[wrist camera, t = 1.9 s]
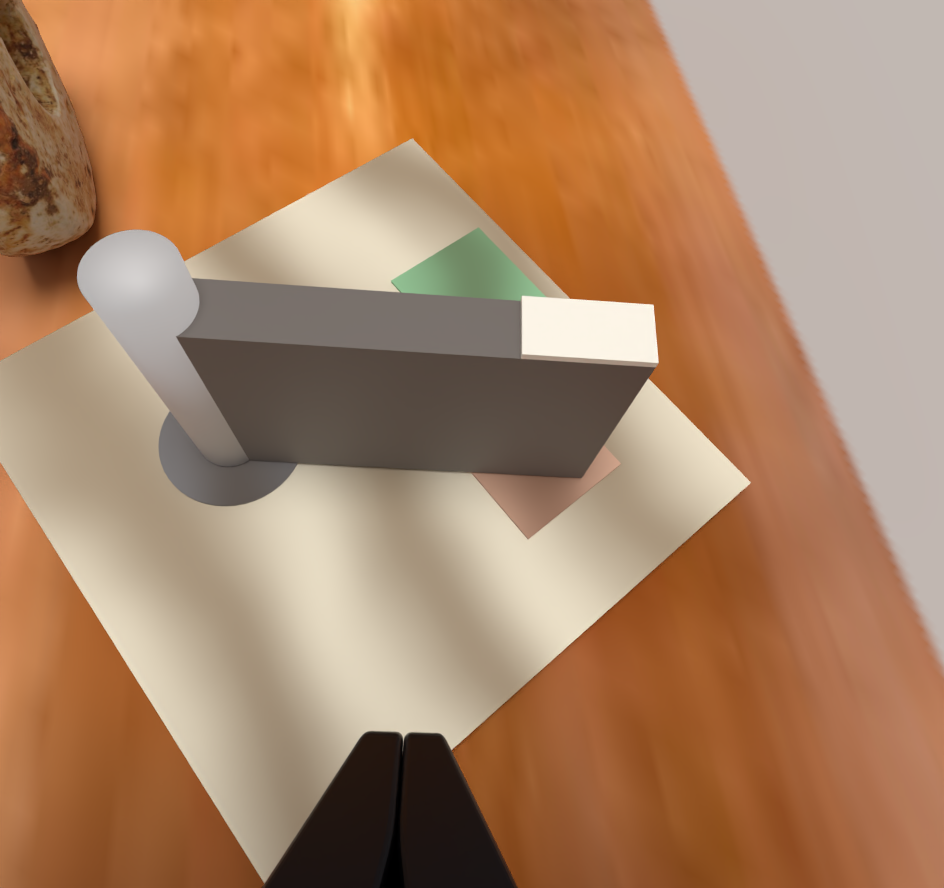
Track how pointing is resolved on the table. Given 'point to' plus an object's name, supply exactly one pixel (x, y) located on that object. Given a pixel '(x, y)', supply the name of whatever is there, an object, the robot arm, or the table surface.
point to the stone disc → (38, 146)
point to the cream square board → (335, 522)
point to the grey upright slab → (371, 367)
